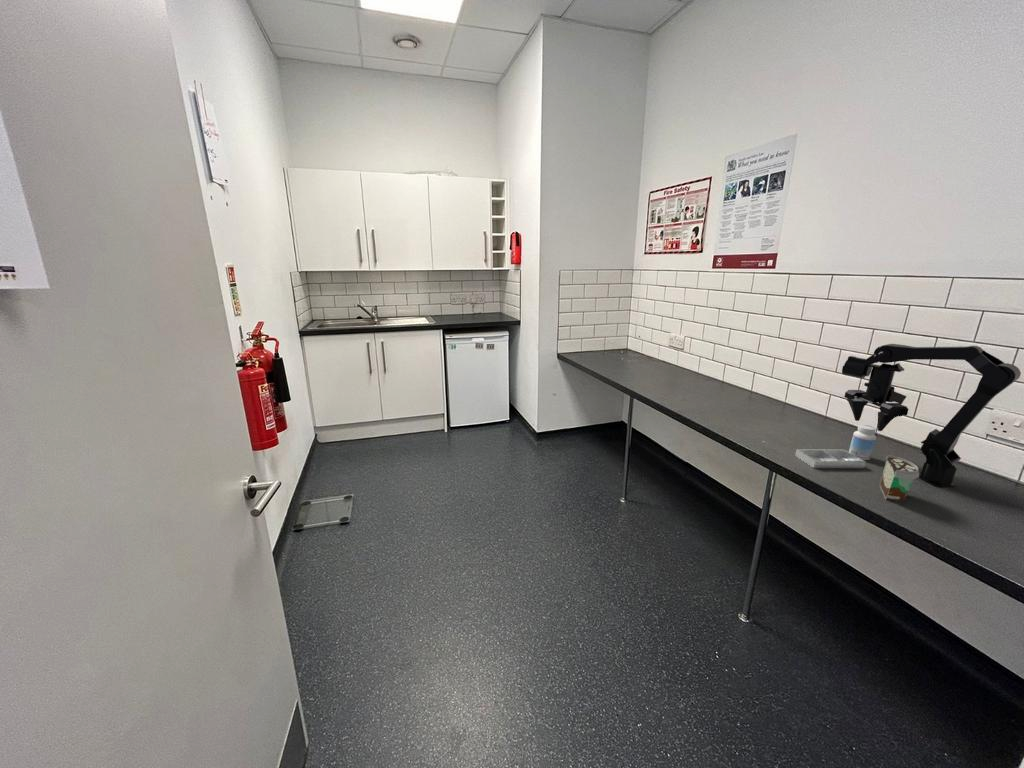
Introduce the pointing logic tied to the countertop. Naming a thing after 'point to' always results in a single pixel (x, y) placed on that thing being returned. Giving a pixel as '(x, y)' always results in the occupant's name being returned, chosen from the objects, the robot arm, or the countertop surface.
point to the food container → (897, 478)
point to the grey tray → (829, 458)
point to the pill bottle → (863, 442)
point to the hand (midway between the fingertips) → (868, 425)
